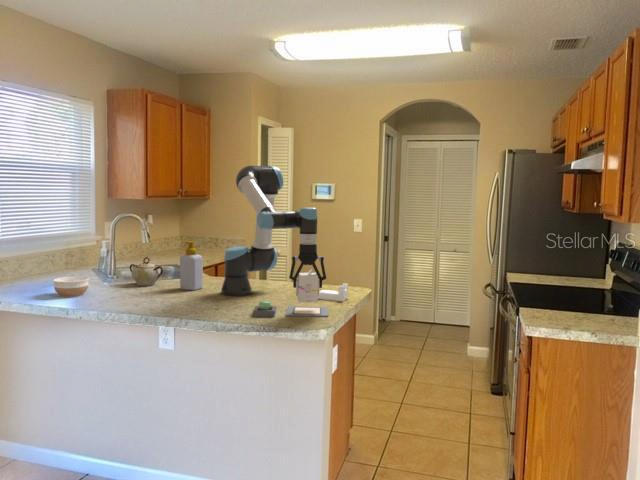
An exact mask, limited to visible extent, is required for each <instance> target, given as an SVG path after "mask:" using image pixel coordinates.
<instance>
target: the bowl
mask: <svg viewBox="0 0 640 480" xmlns="http://www.w3.org/2000/svg"><path fill="white" fill-rule="evenodd" d="M89 280H90V278H89V276H82V275H81V276H79V275H78V276H77V275H76V276H74V275H73V276H63V277H62V276H61V277H56V278H55V279H53V280H52V281H53V283H54V284H53V288H54V290H55V293H57V295H59V297H61V298H77V297H80V296H84V295H85V293H86V292H87V290H88V288H89Z"/></svg>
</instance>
